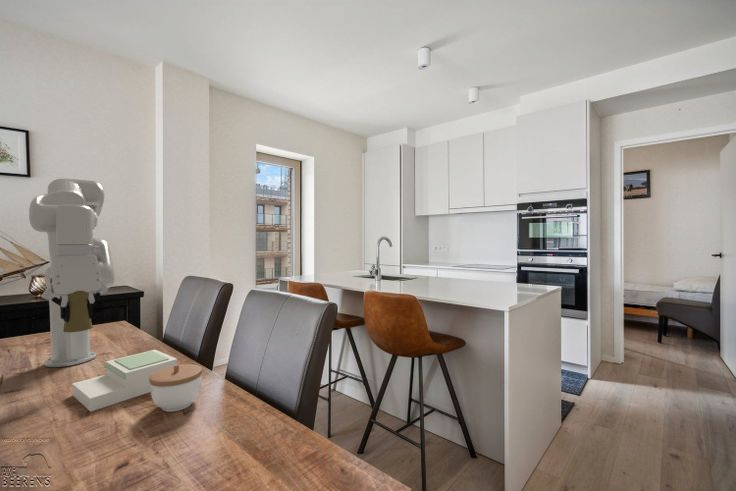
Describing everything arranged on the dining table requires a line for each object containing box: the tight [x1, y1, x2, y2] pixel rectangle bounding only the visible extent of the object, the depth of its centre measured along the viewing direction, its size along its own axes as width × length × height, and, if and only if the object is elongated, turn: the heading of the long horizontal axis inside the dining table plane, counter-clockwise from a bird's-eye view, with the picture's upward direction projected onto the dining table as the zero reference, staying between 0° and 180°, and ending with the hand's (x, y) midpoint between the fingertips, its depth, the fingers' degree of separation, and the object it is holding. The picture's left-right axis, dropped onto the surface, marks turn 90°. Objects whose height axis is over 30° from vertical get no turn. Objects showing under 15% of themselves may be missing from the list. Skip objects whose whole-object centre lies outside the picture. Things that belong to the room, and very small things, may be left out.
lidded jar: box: [149, 363, 203, 413], centre depth 81 cm, size 11×11×9 cm
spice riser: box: [71, 349, 179, 412], centre depth 90 cm, size 14×19×7 cm
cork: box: [63, 291, 93, 332], centre depth 93 cm, size 6×6×11 cm
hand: (77, 318), depth 94 cm, fingers closed on cork, 3 cm apart
